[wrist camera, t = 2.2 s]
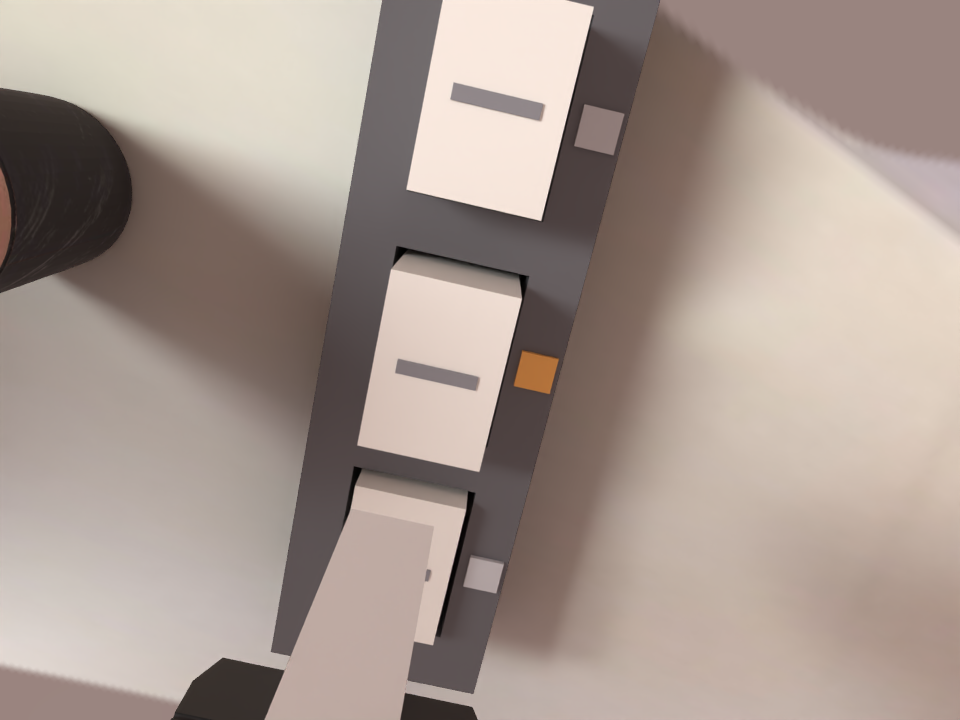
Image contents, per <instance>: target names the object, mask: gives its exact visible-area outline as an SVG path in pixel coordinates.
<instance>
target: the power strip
mask: <svg viewBox="0 0 960 720" xmlns="http://www.w3.org/2000/svg"><path fill="white" fill-rule="evenodd" d="M567 1H571V2H576V3H580V4H584V5H588V6H592V7H594V9H593V13H592V17H591V21H590V25H589V29H588V33H587V37H586V41H585V45H584V49H583V53H582V57H581V61H580V65H579V69H578V73H577V78H576V82H575V86H574V90H573V94H572V98H571V102H570V106H569V110H568V114H567V118H566V122H565V126H564V130H563V134H562V138H561V142H560V146H559V151H558V155H557V159H556V163H555V167H554V171H553V175H552V179H551V183H550V187H549V191H548V195H547V199H546V203H545V207H544V211H543V215H542V220H541V221H539V220H535V219H531V218H526V217H522V216H518V215H513V214H509V213H505V212H500V211H496V210H492V209H488V208H483V207H479V206H475V205H470V204H466V203H462V202H457V201H453V200H449V199H444V198H440V197H436V196H432V195H427V194H423V193H419V192H414V191H410V190H406V189H407V184H408V179H409V173H410V168H411V163H412V158H413V153H414V147H415V142H416V137H417V132H418V126H419V121H420V116H421V111H422V106H423V100H424V95H425V90H426V85H427V80H428V74H429V69H430V64H431V59H432V54H433V48H434V43H435V38H436V33H437V28H438V22H439V17H440V12H441V7H442V2H443V0H382V5H381V11H380V17H379V23H378V29H377V34H376V40H375V46H374V52H373V58H372V64H371V69H370V75H369V81H368V87H367V93H366V99H365V105H364V110H363V116H362V122H361V128H360V134H359V140H358V146H357V151H356V157H355V163H354V169H353V175H352V181H351V187H350V192H349V198H348V204H347V210H346V216H345V222H344V228H343V233H342V239H341V245H340V251H339V257H338V263H337V269H336V274H335V280H334V286H333V292H332V298H331V304H330V310H329V315H328V321H327V327H326V333H325V339H324V345H323V351H322V356H321V362H320V368H319V374H318V380H317V386H316V391H315V397H314V403H313V409H312V415H311V421H310V427H309V432H308V438H307V444H306V450H305V456H304V462H303V468H302V473H301V479H300V485H299V491H298V497H297V503H296V509H295V514H294V520H293V526H292V532H291V538H290V544H289V550H288V555H287V561H286V567H285V573H284V579H283V585H282V591H281V596H280V602H279V608H278V614H277V620H276V626H275V632H274V637H273V643H272V649H271V652H274V653H279V654H283V655H288V656H291V654H292V652H293V649H294V647H295V645H296V642H297V640H298V637H299V635H300V632H301V630H302V628H303V625H304V623H305V620H306V618H307V615H308V613H309V610H310V608H311V606H312V603H313V601H314V598H315V596H316V593H317V591H318V589H319V586H320V584H321V581H322V579H323V576H324V574H325V572H326V569H327V567H328V564H329V562H330V559H331V557H332V554H333V552H334V550H335V547H336V545H337V542H338V540H339V537H340V535H341V533H342V530H343V528H344V525H345V523H346V520H347V518H348V516H349V513H350V510H351V505H352V500H353V494H354V489H355V485H356V483H357V480H358V478H359V476H360V473H361V471H362V469H363V468H365V469H369V470H374V471H378V472H383V473H388V474H392V475H397V476H401V477H406V478H411V479H415V480H420V481H424V482H429V483H433V484H438V485H443V486H447V487H452V488H456V489H461V490H466V491H468V495H467V505H466V512H465V516H464V520H463V524H462V528H461V532H460V537H459V541H458V545H457V549H456V553H455V557H454V561H453V565H452V569H451V573H450V577H449V582H448V586H447V590H446V594H445V598H444V602H443V606H442V610H441V614H440V618H439V622H438V626H437V631H436V635H435V639H434V643H433V645H429V644H424V643H419V642H415V641H414V644H413V650H412V656H411V661H410V667H409V673H408V678H407V680H408V681H413V682H418V683H423V684H428V685H433V686H437V687H442V688H447V689H452V690H457V691H461V692H466V693H471V694H473V693H474V689H475V686H476V682H477V678H478V675H479V671H480V667H481V664H482V660H483V656H484V652H485V649H486V645H487V641H488V638H489V634H490V630H491V626H492V623H493V619H494V615H495V612H496V608H497V604H498V600H499V597H500V593H501V589H502V586H503V582H504V578H505V574H506V571H507V567H508V563H509V560H510V556H511V552H512V548H513V545H514V541H515V537H516V534H517V530H518V526H519V522H520V519H521V515H522V511H523V508H524V504H525V500H526V496H527V493H528V489H529V485H530V482H531V478H532V474H533V470H534V467H535V463H536V459H537V456H538V452H539V448H540V444H541V441H542V437H543V433H544V430H545V426H546V422H547V418H548V415H549V411H550V407H551V404H552V400H553V396H554V392H555V389H556V385H557V381H558V378H559V374H560V370H561V367H562V363H563V359H564V355H565V352H566V348H567V344H568V341H569V337H570V333H571V329H572V326H573V322H574V318H575V315H576V311H577V307H578V303H579V300H580V296H581V292H582V289H583V285H584V281H585V277H586V274H587V270H588V266H589V263H590V259H591V255H592V251H593V248H594V244H595V240H596V237H597V233H598V229H599V225H600V222H601V218H602V214H603V211H604V207H605V203H606V199H607V196H608V192H609V188H610V185H611V181H612V177H613V173H614V170H615V166H616V162H617V159H618V155H619V151H620V147H621V144H622V140H623V136H624V133H625V129H626V125H627V121H628V118H629V114H630V110H631V107H632V103H633V99H634V96H635V92H636V88H637V84H638V81H639V77H640V73H641V70H642V66H643V62H644V58H645V55H646V51H647V47H648V44H649V40H650V36H651V32H652V29H653V25H654V21H655V18H656V14H657V10H658V6H659V3H660V0H567ZM408 249H413V250H418V251H422V252H426V253H431V254H435V255H439V256H444V257H448V258H452V259H457V260H461V261H466V262H470V263H474V264H479V265H483V266H487V267H492V268H496V269H500V270H505V271H509V272H514V273H518V274H519V280H520V287H521V295H522V301H521V305H520V309H519V313H518V317H517V321H516V325H515V329H514V333H513V337H512V341H511V345H510V349H509V353H508V357H507V362H506V366H505V370H504V374H503V378H502V382H501V386H500V390H499V394H498V398H497V402H496V406H495V410H494V414H493V418H492V422H491V426H490V431H489V435H488V439H487V443H486V447H485V451H484V455H483V459H482V463H481V467H480V471H479V472H477V471H472V470H468V469H463V468H458V467H454V466H449V465H445V464H440V463H436V462H431V461H426V460H422V459H417V458H413V457H408V456H404V455H399V454H394V453H390V452H385V451H381V450H376V449H372V448H367V447H362V446H358V445H357V444H358V439H359V433H360V428H361V423H362V418H363V413H364V407H365V402H366V397H367V392H368V387H369V381H370V376H371V371H372V366H373V361H374V355H375V350H376V345H377V340H378V335H379V329H380V324H381V319H382V314H383V309H384V303H385V298H386V293H387V288H388V283H389V277H390V272H391V269H392V267H393V266H394V265H395V264H396V263H397V262H398V260H399V259H400V258H401V257H402V256H403V255H404V254H405V252H406V251H407V250H408Z"/></svg>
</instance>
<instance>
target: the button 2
mask: <svg viewBox="0 0 960 720" xmlns="http://www.w3.org/2000/svg"><path fill="white" fill-rule="evenodd" d="M521 301H522V295H521V287H520V280H519V274H518V273H514V272H509V271H505V270H500V269H496V268H492V267H487V266H483V265H479V264H474V263H470V262H466V261H461V260H457V259H452V258H448V257H444V256H439V255H435V254H431V253H426V252H422V251H418V250H413V249H408V250H407V251H406V252H405V254H404V255H403V256H402V257H401V258H400V259H399V260H398V262H397V263H396V264H395V265H394V266H393V267H392V269H391V272H390V277H389V283H388V288H387V293H386V298H385V303H384V309H383V314H382V319H381V324H380V329H379V335H378V340H377V345H376V350H375V355H374V361H373V366H372V371H371V376H370V381H369V387H368V392H367V397H366V402H365V407H364V413H363V418H362V423H361V428H360V433H359V439H358V444H357V445H358V446H362V447H367V448H372V449H376V450H381V451H385V452H390V453H394V454H399V455H404V456H408V457H413V458H417V459H422V460H426V461H431V462H436V463H440V464H445V465H449V466H454V467H458V468H463V469H468V470H472V471H477V472H479V471H480V467H481V463H482V459H483V455H484V451H485V447H486V443H487V439H488V435H489V431H490V426H491V422H492V418H493V414H494V410H495V406H496V402H497V398H498V394H499V390H500V386H501V382H502V378H503V374H504V370H505V366H506V362H507V357H508V353H509V349H510V345H511V341H512V337H513V333H514V329H515V325H516V321H517V317H518V313H519V309H520V305H521Z"/></svg>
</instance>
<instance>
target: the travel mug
mask: <svg viewBox="0 0 960 720" xmlns="http://www.w3.org/2000/svg"><path fill="white" fill-rule="evenodd" d="M131 201H132V188H131V179H130V175H129V170H128V167H127V164H126V161H125V159H124V156H123V154H122V152H121V150H120V148H119V147H118V145H117V144H116V142H115V140H114V139H113V137H112V136H111V135H110V134H109V132H108V131H107V130H106V129H105V128H104V127H103V126H102V125H101V124H100V123H99V122H98V121H97V120H96V119H95V118H93V117H92V116H91V115H89V114H88V113H87V112H85V111H84V110H82V109H80V108H79V107H77V106H75V105H73V104H71V103H69V102H66V101H64V100H61V99H57V98H54V97H50V96H45V95H40V94H34V93H28V92H22V91H16V90H10V89H3V88H0V293H1V292H4V291H7V290H10V289H13V288H16V287H18V286H21V285H24V284H27V283H30V282H33V281H35V280H38V279H41V278H44V277H47V276H49V275H52V274H55V273H58V272H61V271H64V270H66V269H69V268H71V267H74V266H77V265H79V264H82V263H84V262H87V261H89V260H91V259H93V258H95V257H97V256H99V255H100V254H102V253H103V252H105V251H106V250H107V249H108V248H109V247H110V246H111V245H112V244H113V243H114V242H115V241H116V240H117V238H118V237H119V235H120V234H121V232H122V231H123V229H124V227H125V225H126V222H127V220H128V216H129V213H130V208H131Z"/></svg>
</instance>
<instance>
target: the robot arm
mask: <svg viewBox="0 0 960 720" xmlns="http://www.w3.org/2000/svg"><path fill="white" fill-rule="evenodd" d="M433 531H434V526H429V525H425V524H420V523H415V522H411V521H406V520H402V519H397V518H392V517H388V516H383V515H378V514H374V513H369V512H365V511H360V510H355V509H351V511H350V513H349V516H348V518H347V520H346V523H345V525H344V528H343V530H342V533H341V535H340V537H339V540H338V542H337V545H336V547H335V550H334V552H333V554H332V557H331V559H330V562H329V564H328V567H327V569H326V572H325V574H324V576H323V579H322V581H321V584H320V586H319V589H318V591H317V593H316V596H315V598H314V601H313V603H312V606H311V608H310V610H309V613H308V615H307V618H306V620H305V623H304V625H303V628H302V630H301V632H300V635H299V637H298V640H297V642H296V645H295V647H294V649H293V652H292V654H291V657H290V659H289V662H288V664H287V666H286V669H285V671H284V670H279V669H274V668H270V667H265V666H260V665H255V664H250V663H245V662H241V661H236V660H231V659H226V658H222V659H221V660H219V661H218V662H217V663H215V664H214V665H213V666H212V667H210V668H209V669H208V670H206V671H205V672H204V673H203V674H201V675H200V676H199V677H197V678H196V679H195V680H193V682H192V683H191V685H190V687H189V689H188V690H187V692H186V694H185V696H184V697H183V699H182V701H181V703H180V704H179V706H178V708H177V710H176V712H175V715H174V717H173V718H172V719H171V720H478V719H477V717H476V715H475V712H474V710H473V708H472V707H469V706H465V705H460V704H455V703H450V702H445V701H441V700H436V699H431V698H426V697H421V696H416V695H412V694H407V693H405V690H406V684H407V678H408V673H409V667H410V661H411V656H412V650H413V644H414V639H415V633H416V627H417V622H418V616H419V610H420V605H421V599H422V593H423V588H424V582H425V576H426V571H427V565H428V559H429V553H430V548H431V542H432V536H433Z"/></svg>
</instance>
